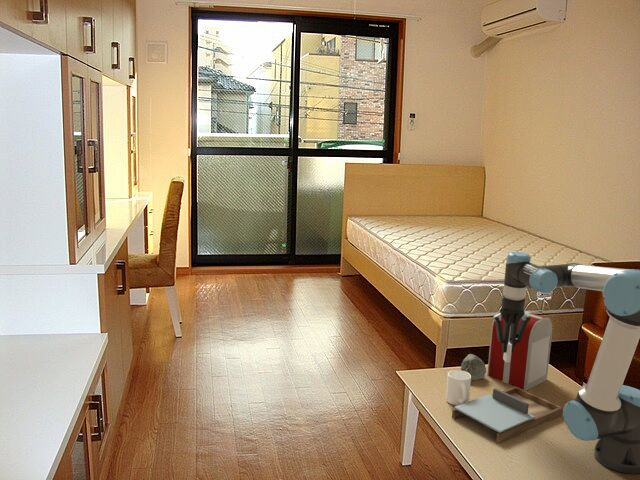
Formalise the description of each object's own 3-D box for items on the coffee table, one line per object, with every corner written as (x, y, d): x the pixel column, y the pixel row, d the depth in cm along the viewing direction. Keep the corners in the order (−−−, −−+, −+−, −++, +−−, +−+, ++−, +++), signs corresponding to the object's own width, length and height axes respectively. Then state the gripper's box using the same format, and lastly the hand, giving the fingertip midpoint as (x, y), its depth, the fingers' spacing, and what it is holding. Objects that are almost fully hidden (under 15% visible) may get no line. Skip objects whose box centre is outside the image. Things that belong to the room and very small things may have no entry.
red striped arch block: (525, 390, 239) (532, 323, 233) (485, 375, 251) (491, 311, 246) (548, 379, 249) (555, 314, 244) (508, 365, 262) (515, 303, 256)
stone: (479, 357, 243) (473, 347, 252) (458, 372, 244) (452, 362, 254) (493, 375, 244) (486, 364, 254) (472, 390, 246) (466, 379, 255)
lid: (534, 418, 211) (536, 406, 210) (499, 432, 200) (501, 420, 199) (488, 395, 226) (489, 384, 225) (454, 408, 216) (455, 397, 215)
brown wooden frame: (561, 415, 220) (562, 407, 219) (498, 443, 200) (499, 434, 200) (514, 393, 236) (515, 386, 235) (451, 417, 216) (452, 409, 216)
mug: (475, 411, 221) (477, 384, 219) (452, 411, 221) (454, 384, 218) (465, 395, 233) (467, 369, 231) (443, 395, 232) (445, 369, 230)
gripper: (527, 293, 219) (520, 356, 225) (491, 293, 218) (484, 356, 223) (537, 300, 212) (528, 365, 218) (499, 300, 211) (492, 365, 216)
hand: (506, 360), depth 220 cm, fingers closed
